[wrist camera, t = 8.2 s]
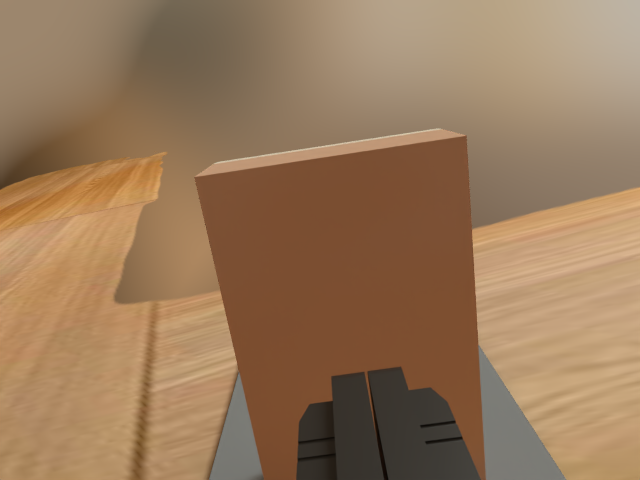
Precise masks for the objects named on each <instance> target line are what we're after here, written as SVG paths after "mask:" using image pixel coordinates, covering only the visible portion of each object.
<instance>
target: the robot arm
mask: <svg viewBox="0 0 640 480" xmlns="http://www.w3.org/2000/svg"><path fill="white" fill-rule="evenodd" d="M367 373H368V381H369V388H370V395H371V402H372V409H373V416H372V410H371V405H370V399H369V394H368V388H367V382H366V377H365V372H358V373H351V374H343V375H336V376H331V383H332V400H333V401H327V402H320V403H313V404H309V406H308V407H307V409H306V411H305V413H304V414H303V416H302V418H301V419H300V421H299V431H298V452H297V461H298V463H297V473H296V480H481V478H480V476H479V474H478V471H477V469H476V467H475V464H474V462H473V460H472V458H471V455H470V453H469V451H468V448H467V446H466V444H465V441H463V437H462V434H461V432H460V430H459V427H458V425H457V424H456V420H455V418H454V416H453V413H452V411H451V409H450V407H449V404H448V402H447V401H446V400H445V399H444V398H442V397H441V396H440V395H439V394H438V393H437V392H435V391H434V390H433V389H432V388H431V387H429V388H422V389H414V390H409V389H408V386H407V383H406V380H405V377H404V374H403V370H402V368H401V366H400V367H393V368H386V369H379V370H371V371H367ZM373 417H374V421H373ZM374 424H375V427H374ZM375 431H376V432H375Z"/></svg>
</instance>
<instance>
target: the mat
mask: <svg viewBox="0 0 640 480" xmlns="http://www.w3.org/2000/svg"><path fill="white" fill-rule="evenodd" d="M478 348H479V365H480V383H481V400H482V418H483V436H484V453H485V471H486V480H566V479H565V477H564V476H563V474H562V472H561V471H560V469H559V468H558V466H557V465H556V463H555V462H554V460H553V459H552V457H551V455H550V454H549V452H548V451H547V449H546V448H545V446H544V445H543V443H542V442H541V440H540V439H539V437H538V435H537V434H536V432H535V431H534V429H533V428H532V426H531V425H530V423H529V422H528V420H527V419H526V417H525V415H524V414H523V412H522V411H521V409H520V408H519V406H518V405H517V403H516V402H515V400H514V398H513V397H512V395H511V394H510V392H509V391H508V389H507V388H506V386H505V385H504V383H503V382H502V380H501V378H500V377H499V375H498V374H497V372H496V371H495V369H494V368H493V366H492V365H491V363H490V362H489V360H488V358H487V357H486V355H485V354H484V352H483V351H482V349H481V348H480V346H479V345H478ZM209 480H264V477H263V473H262V469H261V464H260V460H259V455H258V451H257V447H256V442H255V438H254V434H253V429H252V425H251V421H250V416H249V412H248V408H247V403H246V399H245V395H244V390H243V386H242V382H241V377H240V373H239V374H238V377H237V381H236V384H235V388H234V392H233V395H232V399H231V402H230V406H229V410H228V413H227V417H226V420H225V424H224V428H223V431H222V435H221V438H220V442H219V446H218V449H217V453H216V456H215V460H214V464H213V467H212V471H211V474H210V478H209Z"/></svg>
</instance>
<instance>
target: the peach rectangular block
mask: <svg viewBox="0 0 640 480" xmlns="http://www.w3.org/2000/svg"><path fill="white" fill-rule="evenodd" d="M466 138H467V137H466V135H462V134H459V133H455V132H451V131H448V130H444V129H440V128H438V129H431V130H425V131H418V132H412V133H405V134H399V135H392V136H385V137H379V138H372V139H366V140H360V141H353V142H346V143H340V144H334V145H327V146H320V147H314V148H308V149H301V150H294V151H287V152H281V153H274V154H268V155H261V156H255V157H248V158H242V159H236V160H229V161H222V162H216V163H214V164H213V165H211V166H210V167H209V168H207V169H205V170H204V171H203V172H201V173H200V174H198V175H197V176H195V182H196V186H197V190H198V195H199V199H200V203H201V208H202V212H203V216H204V221H205V225H206V229H207V234H208V238H209V243H210V247H211V251H212V255H213V260H214V264H215V269H216V273H217V277H218V282H219V286H220V290H221V295H222V299H223V303H224V308H225V312H226V316H227V321H228V325H229V329H230V334H231V338H232V343H233V347H234V351H235V356H236V360H237V364H238V369H239V373H240V377H241V382H242V386H243V390H244V395H245V399H246V403H247V408H248V412H249V416H250V421H251V425H252V429H253V434H254V438H255V442H256V447H257V451H258V455H259V460H260V464H261V469H262V473H263V477H264V480H296V473H297V463H298V461H297V452H298V431H299V421H300V419H301V418H302V416H303V414H304V413H305V411H306V409H307V407H308V406H309V404H313V403H320V402H327V401H333V400H332V383H331V376H336V375H343V374H351V373H358V372H365V377H366V382H367V388H368V394H369V399H370V405H371V410H372V416H373V409H372V402H371V395H370V388H369V381H368V373H367V371H371V370H379V369H386V368H393V367H400V366H401V368H402V370H403V374H404V377H405V380H406V383H407V386H408V389H409V390H414V389H422V388H429V387H431V388H432V389H433V390H434V391H435V392H437V393H438V394H439V395H440V396H441V397H442V398H444V399H445V400H446V401H447V402H448V404H449V407H450V409H451V411H452V413H453V416H454V418H455V420H456V424H457V425H458V427H459V430H460V432H461V434H462V437H463V441H465V444H466V446H467V448H468V451H469V453H470V455H471V458H472V460H473V462H474V464H475V467H476V469H477V471H478V474H479V476H480V478H481V480H486V471H485V453H484V436H483V418H482V400H481V383H480V365H479V348H478V330H477V313H476V295H475V277H474V260H473V242H472V225H471V208H470V191H469V190H470V189H469V172H468V154H467V139H466ZM373 421H374V417H373ZM374 427H375V424H374ZM375 432H376V431H375Z"/></svg>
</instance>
